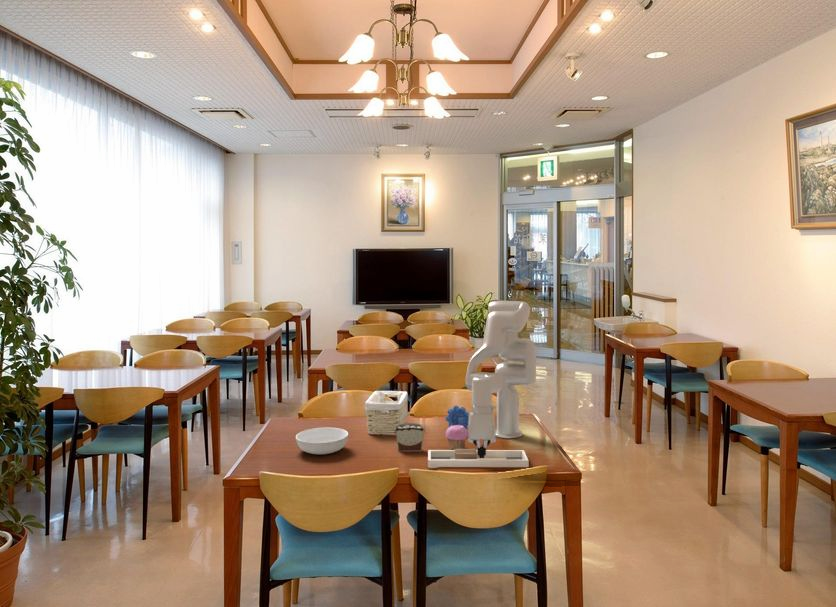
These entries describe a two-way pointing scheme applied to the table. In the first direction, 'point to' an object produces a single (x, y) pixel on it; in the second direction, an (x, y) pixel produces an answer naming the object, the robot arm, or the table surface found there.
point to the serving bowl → (322, 440)
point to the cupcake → (456, 436)
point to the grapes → (458, 417)
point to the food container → (409, 436)
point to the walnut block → (465, 454)
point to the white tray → (478, 459)
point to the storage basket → (386, 412)
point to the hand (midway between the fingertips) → (481, 457)
